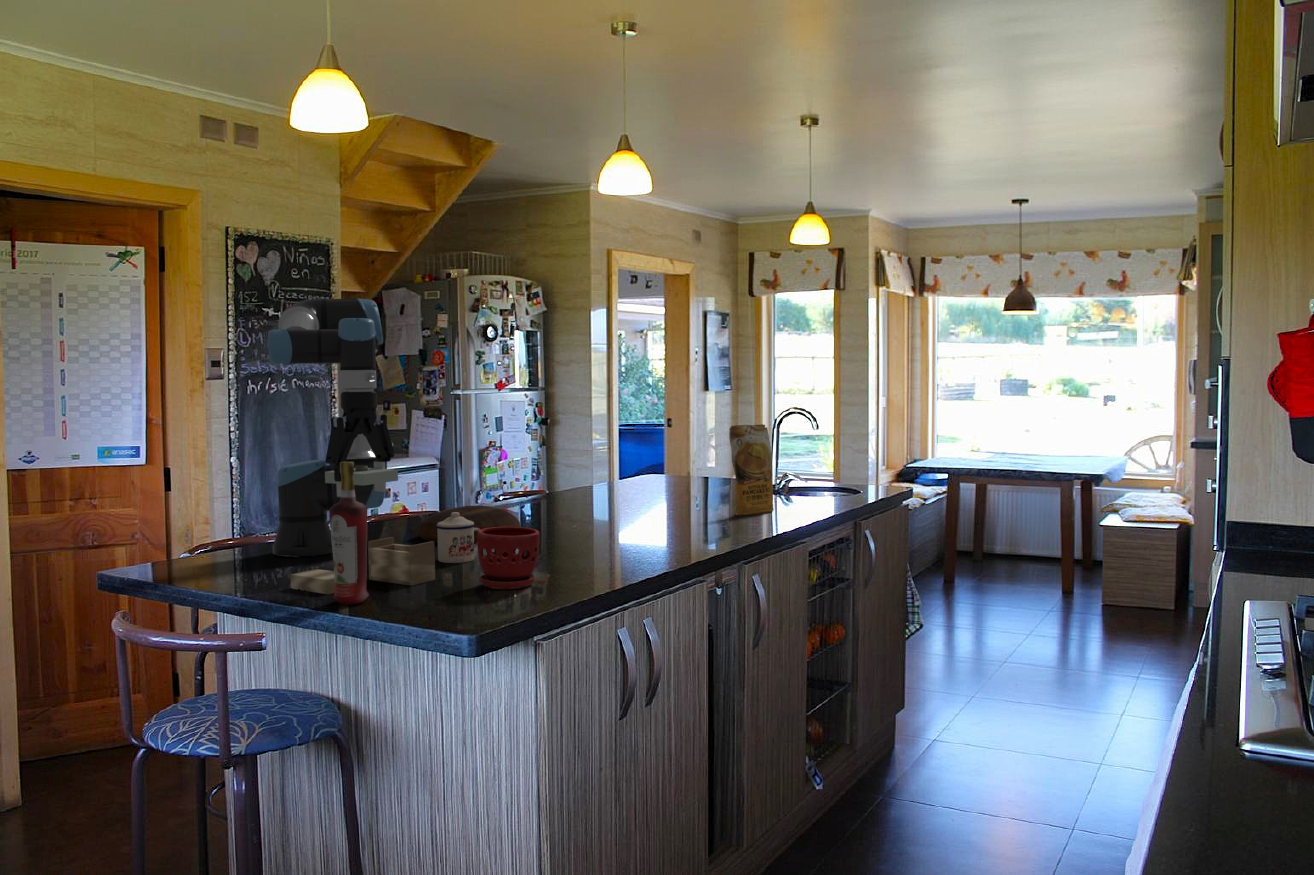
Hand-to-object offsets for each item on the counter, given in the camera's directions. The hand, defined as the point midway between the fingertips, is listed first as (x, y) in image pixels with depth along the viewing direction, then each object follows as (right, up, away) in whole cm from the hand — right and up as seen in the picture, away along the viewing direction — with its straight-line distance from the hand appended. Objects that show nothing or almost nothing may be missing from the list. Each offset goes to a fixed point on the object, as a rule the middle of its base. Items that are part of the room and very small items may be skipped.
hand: (361, 494), depth 225 cm
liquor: (+3, -21, -17) cm, 27 cm away
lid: (0, +3, 0) cm, 3 cm away
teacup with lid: (+16, -18, +29) cm, 38 cm away
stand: (-7, -20, -3) cm, 21 cm away
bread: (+12, -16, +64) cm, 67 cm away
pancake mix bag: (+94, -12, +105) cm, 141 cm away
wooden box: (+7, -19, +5) cm, 21 cm away
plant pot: (+32, -20, -3) cm, 38 cm away
